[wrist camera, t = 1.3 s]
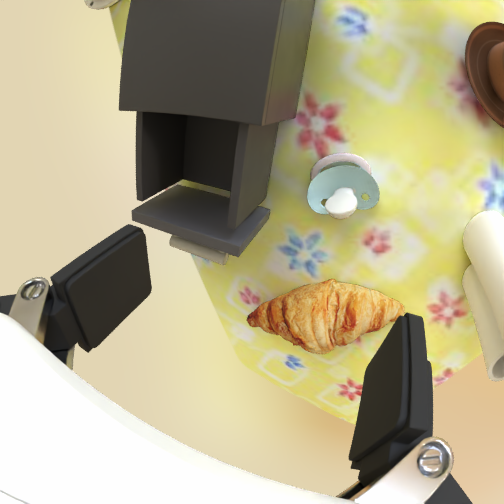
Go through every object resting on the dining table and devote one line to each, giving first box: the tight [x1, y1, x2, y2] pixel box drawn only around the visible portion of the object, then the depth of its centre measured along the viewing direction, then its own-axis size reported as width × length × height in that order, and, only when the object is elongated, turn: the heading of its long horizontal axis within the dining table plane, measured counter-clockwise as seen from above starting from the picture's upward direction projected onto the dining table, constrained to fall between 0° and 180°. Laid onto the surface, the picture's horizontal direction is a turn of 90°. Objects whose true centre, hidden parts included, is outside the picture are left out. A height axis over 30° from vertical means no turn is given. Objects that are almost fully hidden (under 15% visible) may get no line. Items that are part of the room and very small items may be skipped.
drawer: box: [132, 111, 279, 265], centre depth 27 cm, size 19×12×9 cm, turn 171°
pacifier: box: [307, 153, 379, 219], centre depth 25 cm, size 7×6×6 cm
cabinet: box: [119, 0, 315, 126], centre depth 19 cm, size 16×14×11 cm
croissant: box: [247, 279, 405, 354], centre depth 34 cm, size 21×10×8 cm, turn 110°
